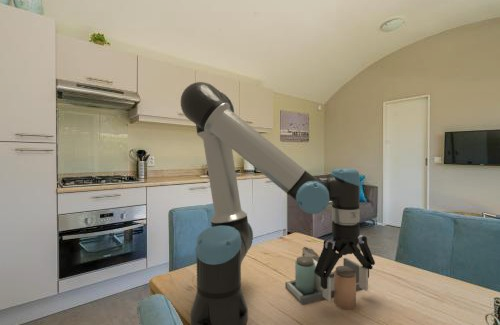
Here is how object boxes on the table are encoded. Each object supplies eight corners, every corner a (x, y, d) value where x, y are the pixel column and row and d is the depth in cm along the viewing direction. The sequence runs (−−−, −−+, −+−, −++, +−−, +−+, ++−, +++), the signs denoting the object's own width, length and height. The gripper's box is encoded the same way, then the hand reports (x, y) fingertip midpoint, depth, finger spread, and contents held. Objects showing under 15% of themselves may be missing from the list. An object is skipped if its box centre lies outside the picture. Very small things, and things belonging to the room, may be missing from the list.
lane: (302, 304, 74) (302, 282, 73) (285, 287, 83) (285, 267, 83) (365, 288, 82) (365, 268, 82) (343, 274, 92) (343, 256, 91)
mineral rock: (324, 273, 93) (324, 261, 93) (302, 271, 95) (302, 259, 95) (320, 257, 108) (321, 246, 108) (301, 255, 109) (301, 245, 109)
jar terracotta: (343, 311, 70) (344, 276, 70) (329, 299, 76) (329, 267, 76) (360, 306, 72) (360, 272, 72) (345, 295, 78) (345, 264, 78)
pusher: (320, 294, 77) (321, 269, 77) (307, 282, 84) (307, 260, 84) (327, 292, 78) (327, 268, 78) (313, 281, 85) (313, 259, 85)
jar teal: (302, 298, 76) (302, 265, 75) (291, 288, 81) (291, 257, 81) (318, 293, 78) (318, 262, 78) (307, 284, 84) (307, 254, 83)
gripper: (317, 230, 65) (318, 311, 66) (388, 220, 74) (388, 290, 75) (301, 223, 72) (302, 296, 73) (368, 214, 81) (367, 279, 82)
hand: (345, 293), depth 74 cm, fingers open, 13 cm apart
